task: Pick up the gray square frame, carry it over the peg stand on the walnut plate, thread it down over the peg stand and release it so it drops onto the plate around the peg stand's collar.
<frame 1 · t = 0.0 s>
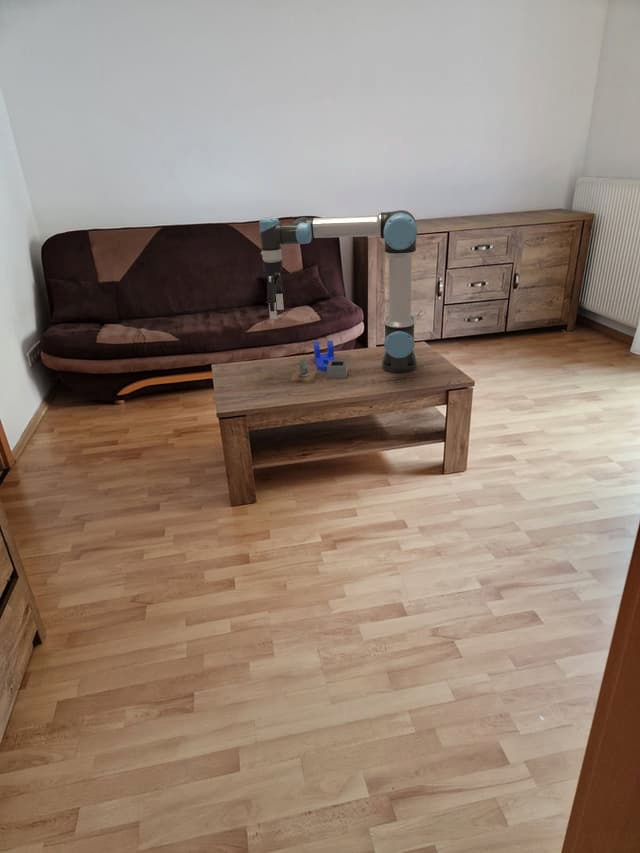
hand: (277, 314, 229), 28 cm above the table, fingers open, 13 cm apart
peg stand: (304, 378, 241), on the table
gray square frame: (337, 374, 242), on the table
bracket: (325, 365, 255), on the table
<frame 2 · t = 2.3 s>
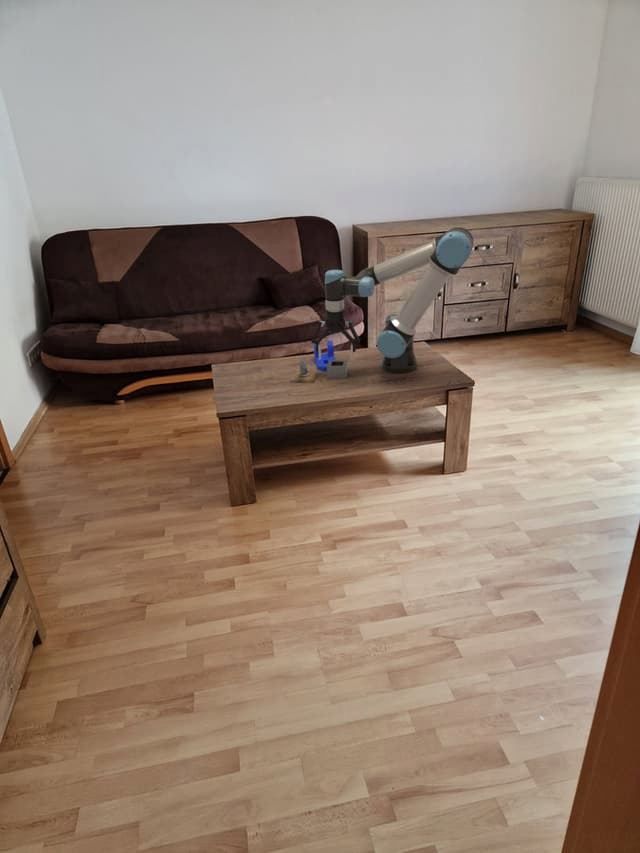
hand: (336, 359, 239), 7 cm above the table, fingers open, 13 cm apart
nothing on the table moved.
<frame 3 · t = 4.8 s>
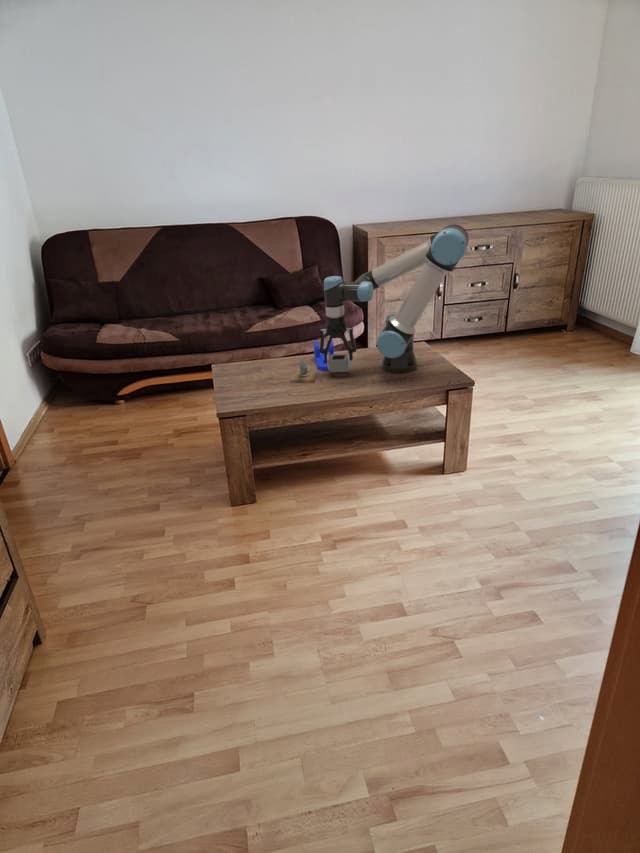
hand: (339, 367, 241), 3 cm above the table, fingers closed on gray square frame, 8 cm apart
gray square frame: (339, 368, 241), point 3 cm above the table, touching gripper
everything else where it was.
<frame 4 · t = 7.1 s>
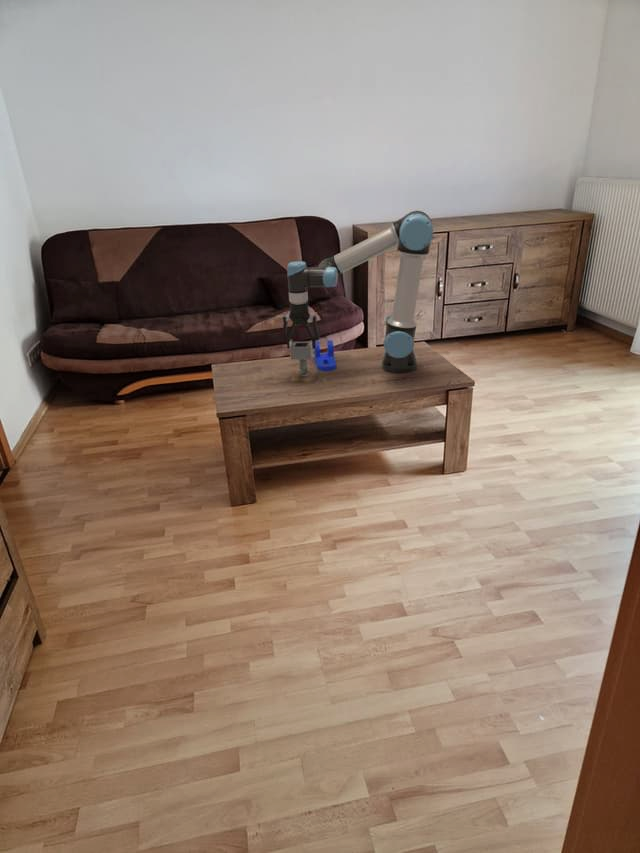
hand: (302, 355, 236), 10 cm above the table, fingers closed on gray square frame, 8 cm apart
gray square frame: (302, 356, 237), point 10 cm above the table, touching gripper
everything else where it was.
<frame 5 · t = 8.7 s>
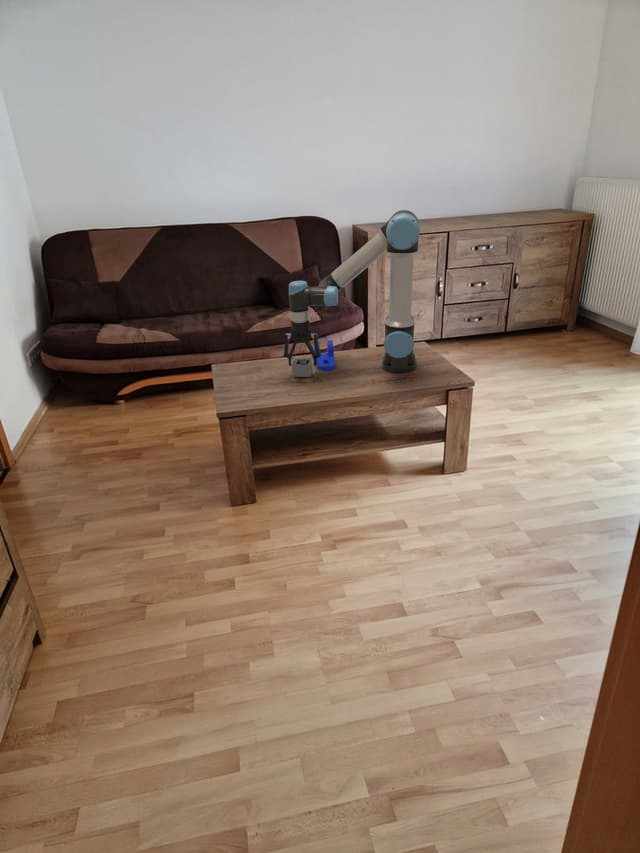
hand: (303, 372, 240), 2 cm above the table, fingers closed on gray square frame, 8 cm apart
gray square frame: (303, 373, 240), point 2 cm above the table, touching gripper
everything else where it was.
when the fingers open (2 cm above the table, at t = 9.7 s): gray square frame stays where it is, resting on peg stand.
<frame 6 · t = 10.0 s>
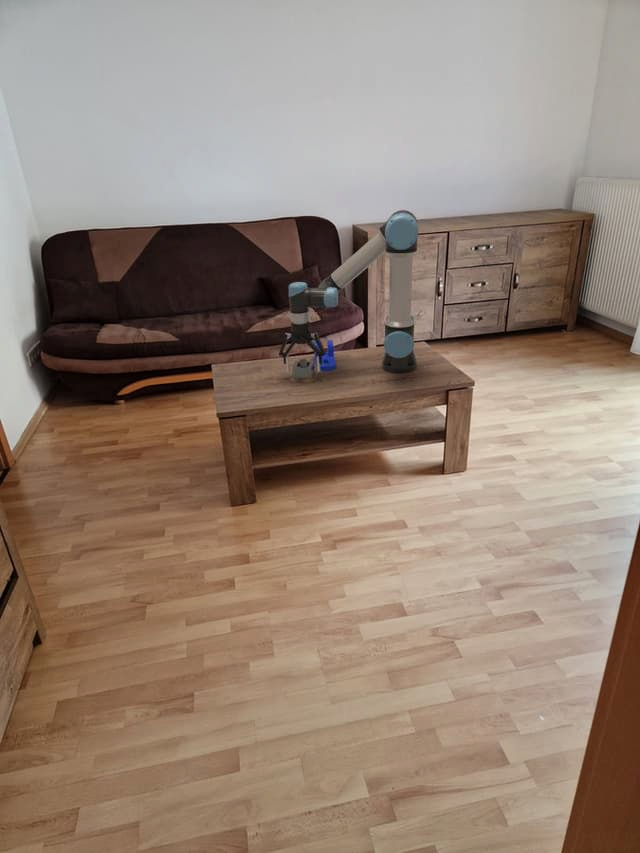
hand: (303, 371, 239), 3 cm above the table, fingers open, 12 cm apart
gray square frame: (304, 375, 240), point 1 cm above the table, touching peg stand
everything else where it was.
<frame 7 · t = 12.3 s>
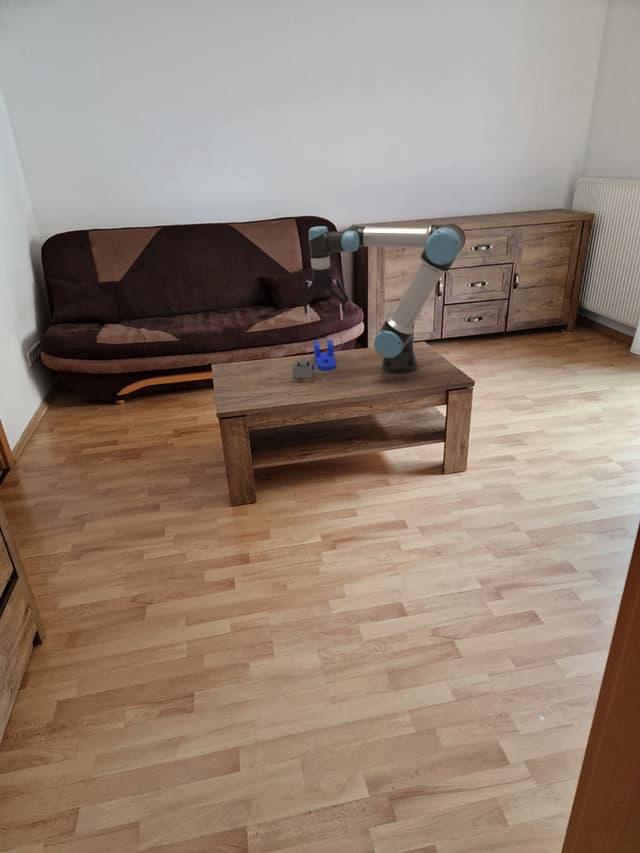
hand: (325, 319, 235), 23 cm above the table, fingers open, 13 cm apart
nothing on the table moved.
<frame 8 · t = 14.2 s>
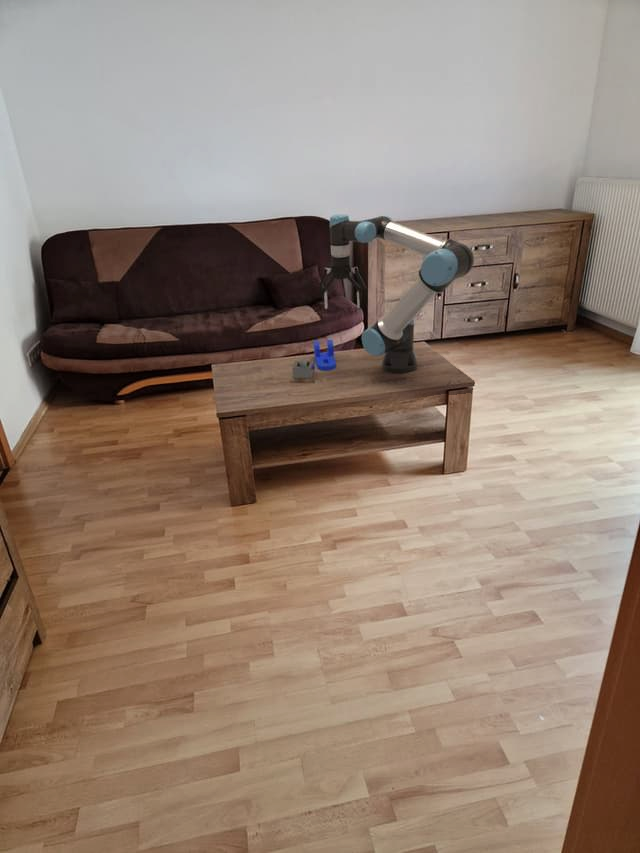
hand: (342, 307, 238), 27 cm above the table, fingers open, 13 cm apart
at the end: gray square frame 0.1 cm from the peg stand (horizontally); gray square frame point 1.2 cm above the table; the gripper is holding nothing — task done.
